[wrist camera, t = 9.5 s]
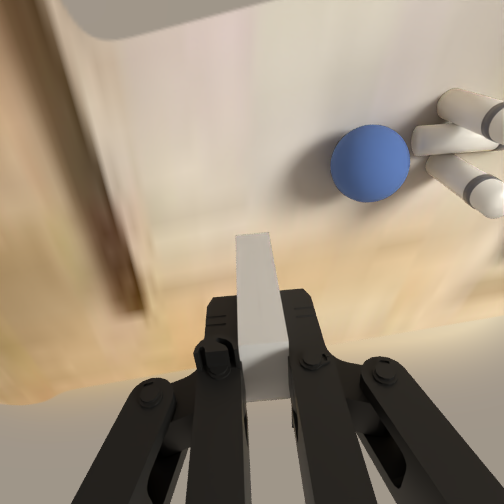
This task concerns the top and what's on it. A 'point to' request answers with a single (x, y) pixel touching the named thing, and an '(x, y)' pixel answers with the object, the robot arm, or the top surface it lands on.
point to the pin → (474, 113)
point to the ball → (370, 163)
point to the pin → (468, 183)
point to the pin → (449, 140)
